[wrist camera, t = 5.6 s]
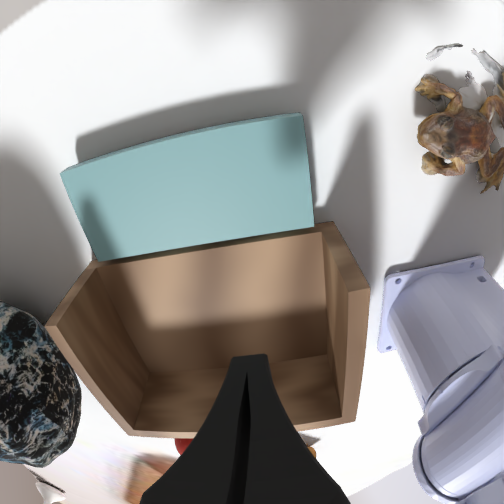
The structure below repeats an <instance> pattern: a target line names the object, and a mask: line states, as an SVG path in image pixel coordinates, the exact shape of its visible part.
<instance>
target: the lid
mask: <svg viewBox="0 0 504 504" xmlns="http://www.w3.org/2000/svg"><path fill="white" fill-rule="evenodd" d="M60 175H61V178H62V181H63V183H64V186H65V188H66V191H67V193H68V196H69V198H70V201H71V203H72V205H73V208H74V210H75V212H76V215H77V217H78V219H79V222H80V224H81V226H82V228H83V231H84V233H85V235H86V237H87V239H88V241H89V243H90V246H91V248H92V250H93V252H94V254H95V256H96V258H97V260H98V262H101V261H106V260H112V259H118V258H123V257H129V256H135V255H141V254H147V253H153V252H158V251H164V250H170V249H176V248H182V247H188V246H194V245H201V244H207V243H213V242H219V241H225V240H231V239H238V238H244V237H250V236H257V235H263V234H269V233H276V232H282V231H289V230H295V229H302V228H309V227H314V216H313V204H312V193H311V183H310V173H309V163H308V154H307V145H306V137H305V129H304V121H303V115H302V114H301V113H300V112H298V113H290V114H282V115H275V116H268V117H262V118H255V119H249V120H244V121H238V122H232V123H227V124H222V125H217V126H212V127H207V128H202V129H198V130H193V131H189V132H185V133H180V134H176V135H172V136H168V137H164V138H160V139H157V140H153V141H149V142H145V143H142V144H138V145H135V146H131V147H128V148H125V149H121V150H118V151H115V152H112V153H108V154H105V155H102V156H99V157H96V158H93V159H90V160H87V161H84V162H82V163H79V164H76V165H73V166H70V167H68V168H66V169H65V170H64V171H62V172H61V173H60Z"/></svg>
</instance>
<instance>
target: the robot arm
mask: <svg viewBox="0 0 504 504" xmlns="http://www.w3.org/2000/svg"><path fill="white" fill-rule="evenodd" d="M484 263H485V259H484V257H483V256H475V257H471V258H466V259H462V260H457V261H453V262H448V263H443V264H439V265H434V266H429V267H424V268H419V269H414V270H409V271H404V272H399V273H394V274H390V275H388V276H387V277H386V278H385V280H384V291H383V302H382V312H381V321H380V330H379V337H378V345H377V349H378V351H379V352H380V353H383V352H387V351H392V350H396V349H397V351H398V353H399V355H400V358H401V360H402V362H403V364H404V367H405V369H406V371H407V373H408V376H409V378H410V380H411V383H412V385H413V388H414V390H415V392H416V395H417V397H418V400H419V402H420V405H421V407H422V410H423V412H424V415H423V417H422V418H421V419H420V420H419V421H418V425H419V427H420V430H421V433H422V435H421V436H420V437H419V439H418V440H417V442H416V444H415V446H414V449H413V468H414V472H415V475H416V478H417V480H418V482H419V484H420V486H421V487H422V489H423V490H424V491H425V492H426V493H427V494H428V495H429V496H430V497H431V498H433V499H435V500H436V501H439V502H441V503H444V504H504V289H503V288H502V287H501V286H500V285H499V284H498V283H497V282H496V281H495V280H494V279H493V278H492V277H491V275H490V274H489V273H488V272H487V271H486V270H485V269H484V268H483V267H484ZM470 264H471V265H470ZM398 278H399V280H398V281H396V279H398ZM140 504H350V502H349V500H348V498H347V497H346V495H345V494H344V492H343V491H342V489H341V487H340V486H339V485H338V484H337V483H336V482H335V481H334V480H333V479H332V477H331V476H330V475H329V474H328V473H327V472H326V471H325V469H324V468H323V467H322V466H321V465H320V463H319V462H318V461H317V460H316V458H315V457H314V456H313V454H312V453H311V451H310V450H309V449H308V447H307V446H306V445H305V443H304V442H303V440H302V439H301V437H300V435H299V434H298V432H297V431H296V429H295V427H294V426H293V424H292V422H291V420H290V419H289V417H288V415H287V413H286V411H285V409H284V407H283V405H282V403H281V401H280V398H279V396H278V394H277V391H276V389H275V386H274V384H273V380H272V375H271V370H270V366H269V361H268V356H267V355H266V354H264V353H263V354H254V355H246V356H236V357H233V358H232V359H231V361H230V365H229V368H228V371H227V374H226V376H225V379H224V382H223V384H222V387H221V389H220V391H219V393H218V396H217V398H216V400H215V402H214V404H213V406H212V408H211V410H210V412H209V414H208V415H207V417H206V419H205V421H204V423H203V424H202V426H201V428H200V429H199V431H198V432H197V434H196V435H195V437H194V438H193V440H192V441H191V443H190V444H189V445H188V447H187V448H186V449H185V451H184V452H183V453H182V455H181V456H180V457H179V458H178V459H177V461H176V462H175V463H174V464H173V465H172V466H171V467H170V468H169V469H168V470H167V471H166V473H165V474H164V475H163V476H162V477H161V478H160V479H159V480H157V481H156V482H155V483H154V484H153V485H152V486H151V487H150V488H149V489H147V490H146V491H145V492H144V493H143V495H142V498H141V501H140Z"/></svg>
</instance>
